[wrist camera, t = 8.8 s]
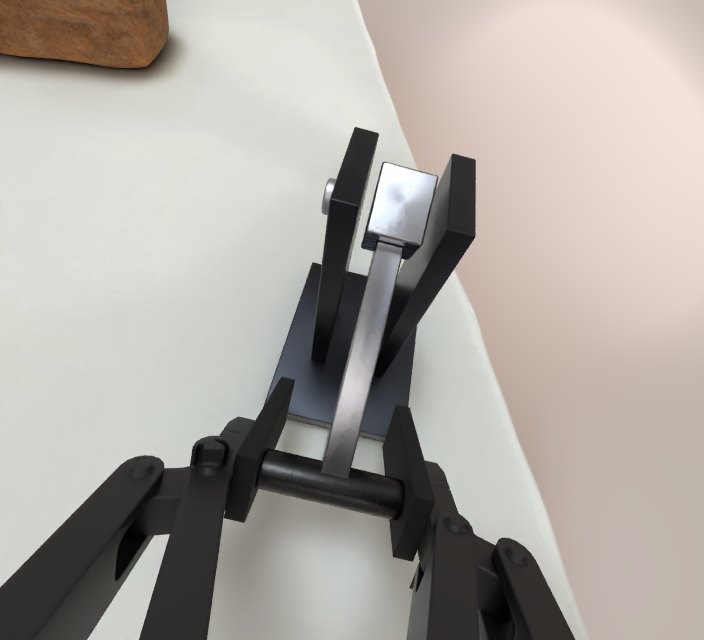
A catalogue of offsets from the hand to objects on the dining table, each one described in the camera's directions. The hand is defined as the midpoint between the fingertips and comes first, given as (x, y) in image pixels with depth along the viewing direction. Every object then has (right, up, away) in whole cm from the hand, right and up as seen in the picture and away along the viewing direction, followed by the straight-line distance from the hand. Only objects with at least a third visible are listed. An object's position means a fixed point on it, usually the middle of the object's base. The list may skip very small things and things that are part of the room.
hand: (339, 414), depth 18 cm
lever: (+1, +4, -3) cm, 6 cm away
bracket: (+1, +3, +7) cm, 7 cm away
